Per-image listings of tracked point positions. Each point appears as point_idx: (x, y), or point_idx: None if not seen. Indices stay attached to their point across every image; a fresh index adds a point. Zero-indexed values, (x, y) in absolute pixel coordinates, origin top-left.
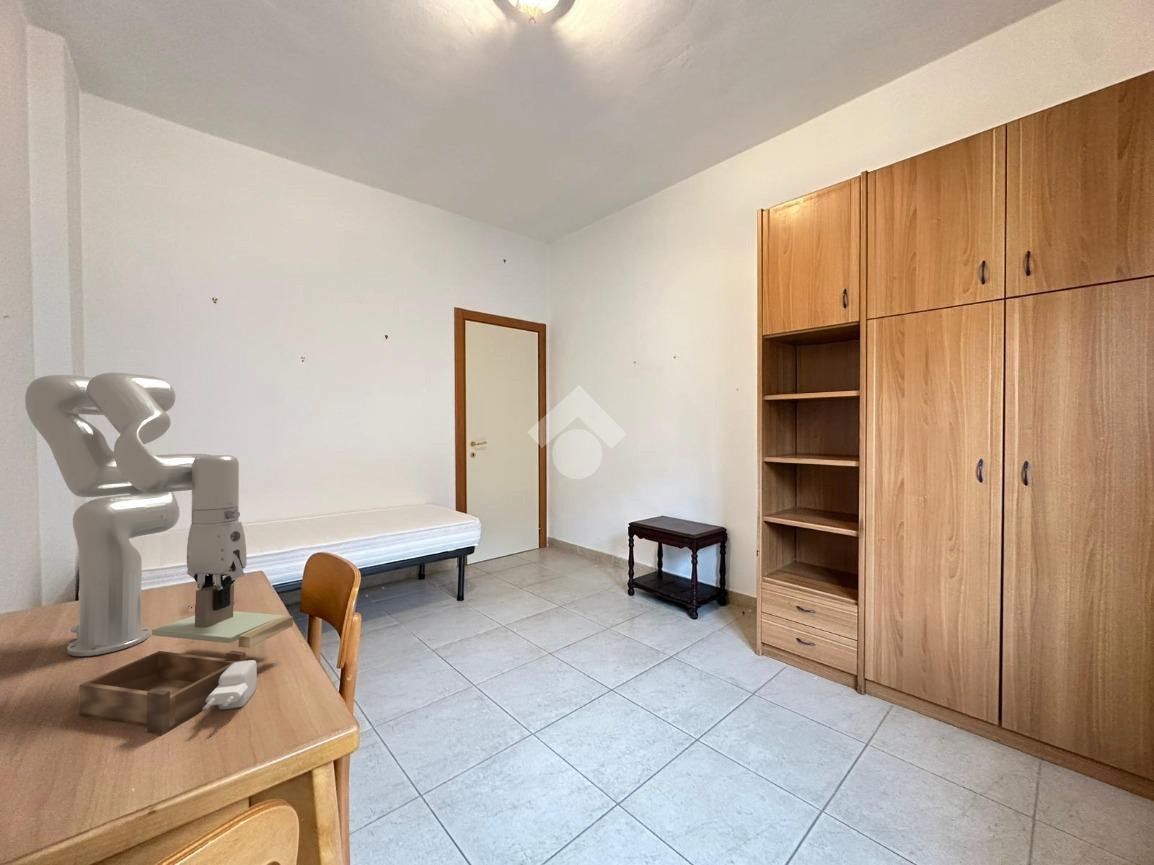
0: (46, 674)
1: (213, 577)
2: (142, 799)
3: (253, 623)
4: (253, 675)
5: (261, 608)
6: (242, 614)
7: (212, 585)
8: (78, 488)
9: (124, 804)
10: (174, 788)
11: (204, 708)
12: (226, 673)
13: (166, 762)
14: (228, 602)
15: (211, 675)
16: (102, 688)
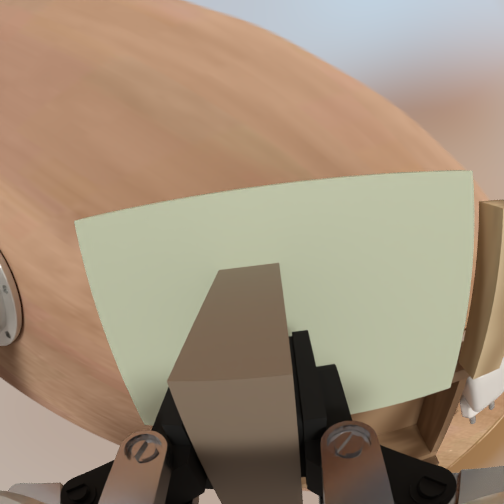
0: (47, 388)
1: (162, 495)
2: (464, 447)
3: (438, 286)
4: None
5: (51, 6)
6: (288, 219)
7: (192, 457)
8: None
9: (455, 454)
10: (480, 433)
11: (474, 422)
12: (483, 406)
13: (454, 433)
14: (333, 364)
15: (452, 411)
16: (302, 487)
